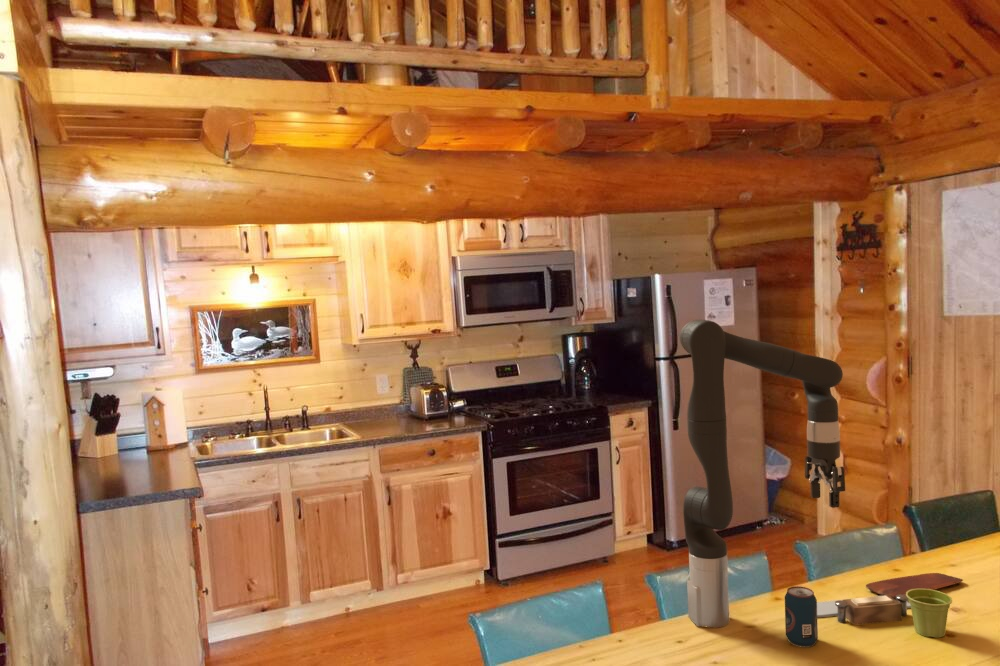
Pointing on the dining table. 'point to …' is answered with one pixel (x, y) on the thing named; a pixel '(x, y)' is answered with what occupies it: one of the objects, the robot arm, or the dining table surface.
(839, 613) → the metal screw
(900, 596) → the metal bolt
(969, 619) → the dining table surface
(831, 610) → the wall strip
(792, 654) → the dining table surface
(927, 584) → the brown flat slab
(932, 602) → the plant pot
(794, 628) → the soda can
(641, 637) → the dining table surface
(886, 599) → the wooden box
